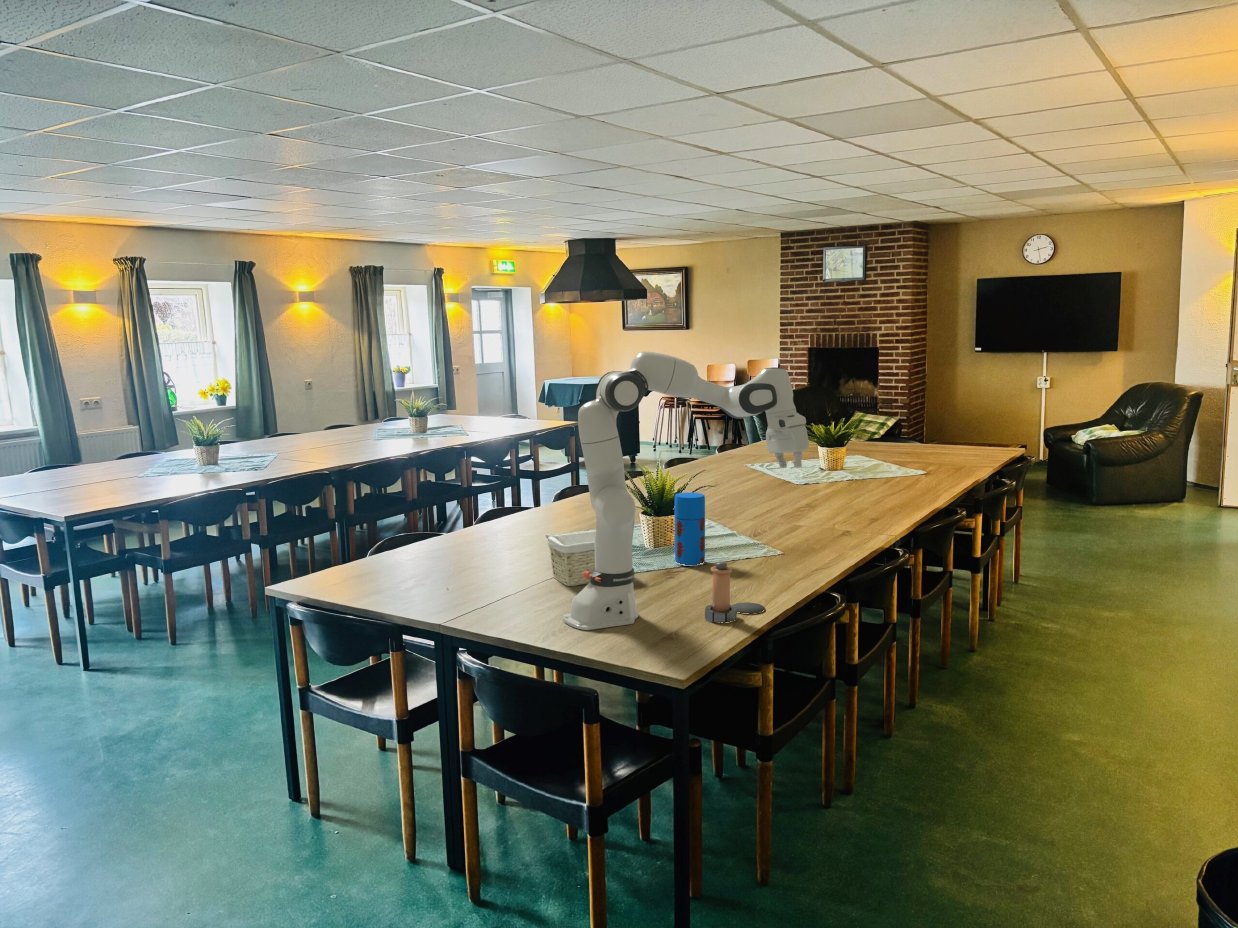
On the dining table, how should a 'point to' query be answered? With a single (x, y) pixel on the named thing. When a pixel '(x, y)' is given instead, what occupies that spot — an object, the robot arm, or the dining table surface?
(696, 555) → the thermos
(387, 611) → the dining table surface
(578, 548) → the storage basket
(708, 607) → the collar
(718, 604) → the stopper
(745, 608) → the rest pad
